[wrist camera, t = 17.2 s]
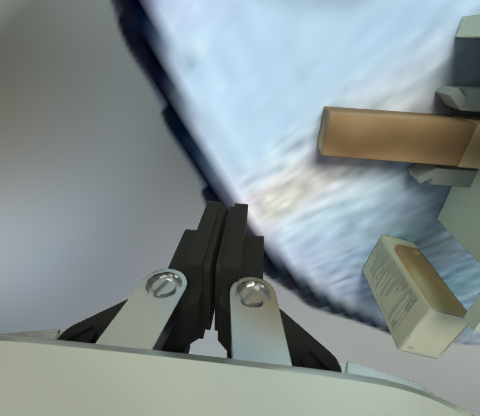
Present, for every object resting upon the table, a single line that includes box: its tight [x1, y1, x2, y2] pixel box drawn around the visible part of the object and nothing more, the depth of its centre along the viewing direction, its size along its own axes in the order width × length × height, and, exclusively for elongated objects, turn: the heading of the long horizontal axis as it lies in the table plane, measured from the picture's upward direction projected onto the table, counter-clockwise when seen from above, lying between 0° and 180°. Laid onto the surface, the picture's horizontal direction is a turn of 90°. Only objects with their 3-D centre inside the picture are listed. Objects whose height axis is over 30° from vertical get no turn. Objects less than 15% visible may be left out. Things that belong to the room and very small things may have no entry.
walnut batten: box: [317, 106, 480, 169], centre depth 28 cm, size 4×15×4 cm, turn 87°
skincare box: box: [363, 235, 469, 359], centre depth 32 cm, size 6×4×12 cm
